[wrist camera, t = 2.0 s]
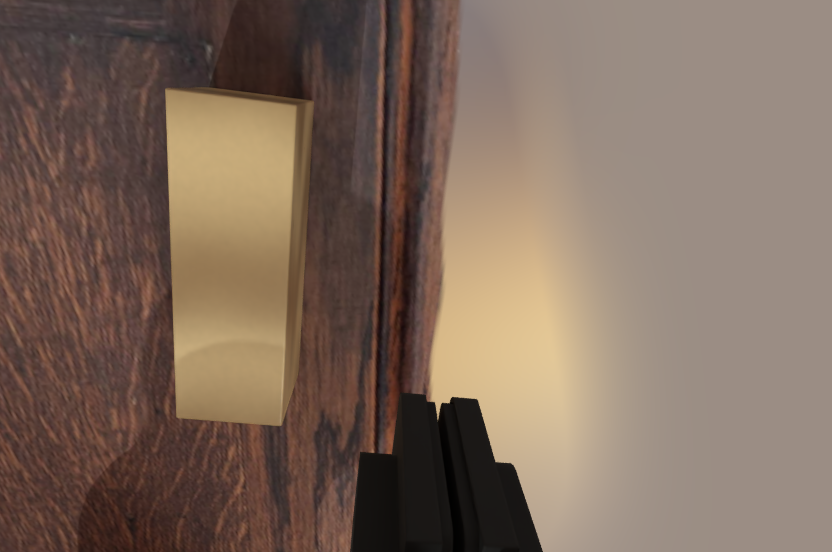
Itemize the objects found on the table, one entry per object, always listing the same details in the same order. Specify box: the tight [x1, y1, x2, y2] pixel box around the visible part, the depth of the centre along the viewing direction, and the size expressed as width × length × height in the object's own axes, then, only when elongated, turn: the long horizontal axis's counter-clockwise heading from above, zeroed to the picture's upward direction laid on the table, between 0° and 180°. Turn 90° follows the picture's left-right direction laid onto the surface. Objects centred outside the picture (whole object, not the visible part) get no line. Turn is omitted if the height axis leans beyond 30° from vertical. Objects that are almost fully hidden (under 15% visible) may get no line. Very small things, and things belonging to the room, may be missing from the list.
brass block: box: [165, 87, 314, 426], centre depth 20 cm, size 12×4×4 cm, turn 173°
